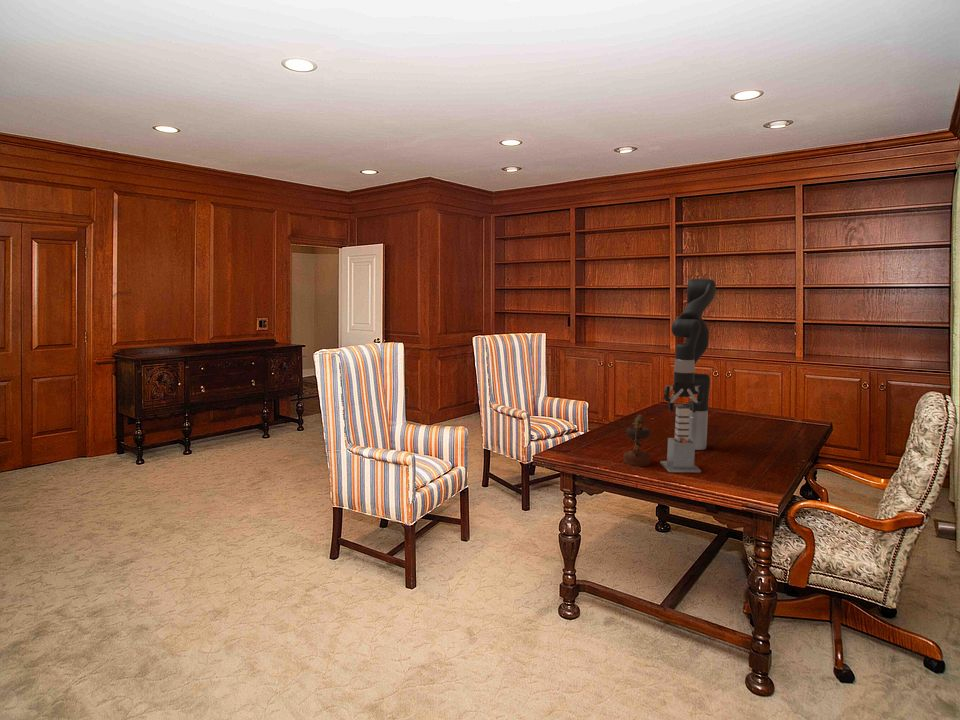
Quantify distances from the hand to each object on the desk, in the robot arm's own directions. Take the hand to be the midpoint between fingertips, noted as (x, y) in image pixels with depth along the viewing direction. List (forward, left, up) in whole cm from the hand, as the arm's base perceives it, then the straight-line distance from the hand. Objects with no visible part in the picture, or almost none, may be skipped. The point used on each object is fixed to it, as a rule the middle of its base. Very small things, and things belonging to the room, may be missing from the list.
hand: (682, 412), depth 231 cm
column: (0, 0, -16) cm, 16 cm away
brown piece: (-8, -15, -23) cm, 28 cm away
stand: (0, 0, -22) cm, 22 cm away
